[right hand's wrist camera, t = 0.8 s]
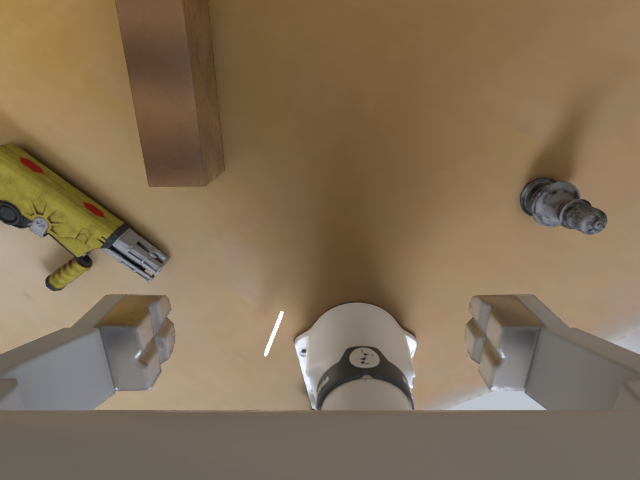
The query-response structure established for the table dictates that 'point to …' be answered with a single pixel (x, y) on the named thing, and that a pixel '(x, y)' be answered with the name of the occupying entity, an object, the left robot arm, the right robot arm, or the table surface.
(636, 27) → the table surface
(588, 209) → the grey chess piece
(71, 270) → the toy gun
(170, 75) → the box
